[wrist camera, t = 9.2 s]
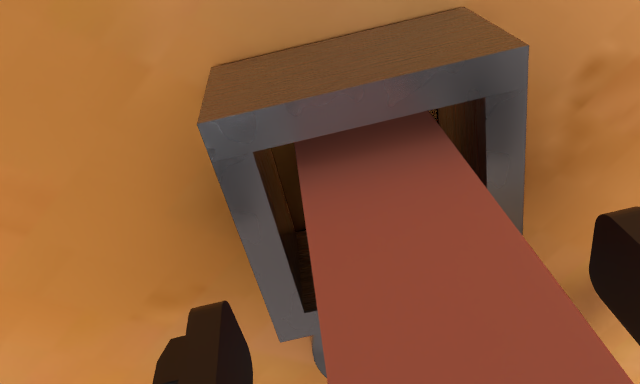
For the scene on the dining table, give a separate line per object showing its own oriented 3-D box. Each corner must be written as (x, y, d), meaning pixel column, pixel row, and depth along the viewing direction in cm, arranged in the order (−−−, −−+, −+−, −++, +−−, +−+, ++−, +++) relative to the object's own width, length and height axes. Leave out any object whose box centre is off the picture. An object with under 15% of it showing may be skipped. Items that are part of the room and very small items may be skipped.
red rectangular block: (289, 109, 15) (337, 456, 6) (407, 83, 15) (639, 391, 6) (313, 206, 17) (376, 574, 8) (417, 183, 17) (601, 527, 8)
